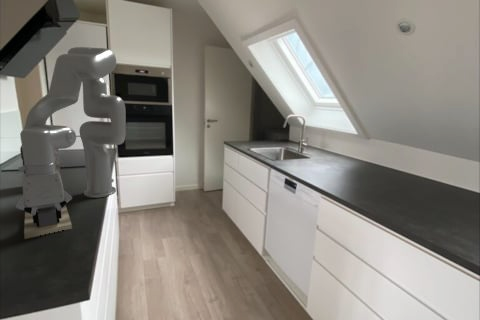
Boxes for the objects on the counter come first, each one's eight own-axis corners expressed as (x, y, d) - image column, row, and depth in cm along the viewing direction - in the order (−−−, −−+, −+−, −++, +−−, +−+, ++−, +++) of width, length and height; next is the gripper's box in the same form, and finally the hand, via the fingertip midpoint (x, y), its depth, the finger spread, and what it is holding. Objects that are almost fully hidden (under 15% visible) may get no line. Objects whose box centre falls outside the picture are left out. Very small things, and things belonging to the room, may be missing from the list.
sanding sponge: (39, 219, 88) (37, 205, 86) (55, 216, 90) (54, 202, 89) (40, 229, 81) (37, 214, 80) (57, 226, 84) (55, 211, 83)
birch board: (25, 210, 97) (25, 206, 97) (64, 203, 105) (64, 199, 104) (24, 239, 79) (24, 234, 79) (72, 228, 86) (71, 224, 86)
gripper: (3, 175, 74) (13, 235, 78) (74, 168, 84) (80, 220, 88) (5, 169, 79) (14, 224, 84) (71, 162, 89) (77, 212, 94)
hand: (48, 222), depth 86 cm, fingers closed on sanding sponge, 4 cm apart
